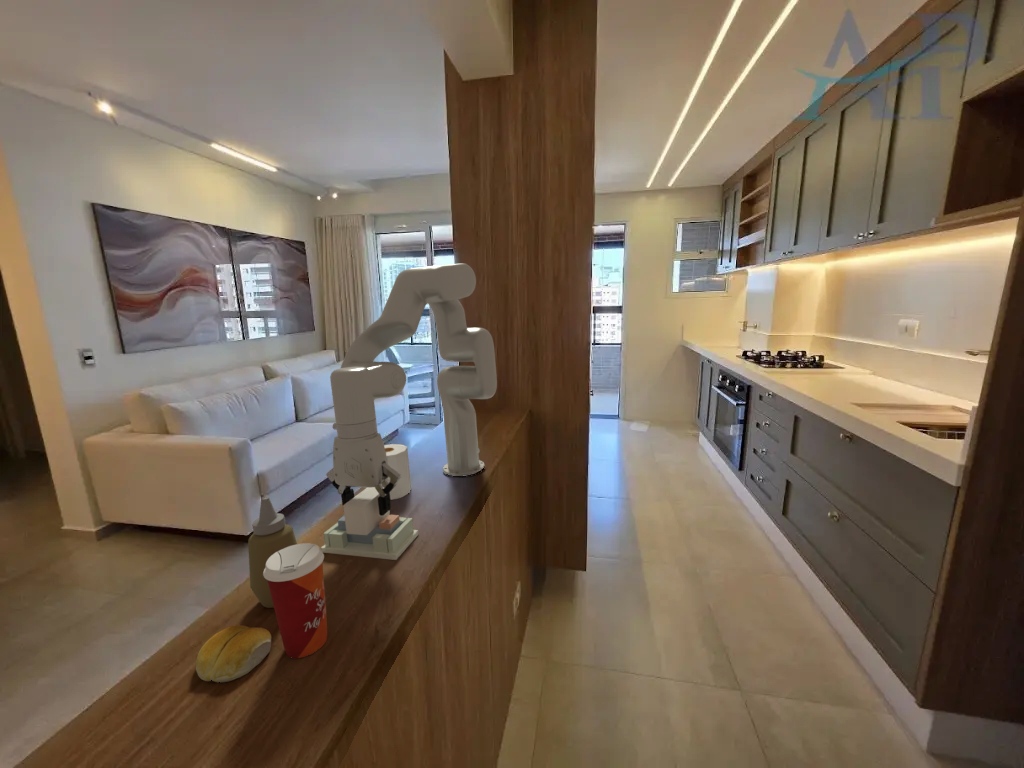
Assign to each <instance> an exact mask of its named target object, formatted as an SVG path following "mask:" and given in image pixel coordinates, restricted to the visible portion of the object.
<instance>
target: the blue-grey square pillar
mask: <svg viewBox="0 0 1024 768" xmlns="http://www.w3.org/2000/svg"><path fill="white" fill-rule="evenodd" d="M399 517H400V515H399V514H389V515H387V516H386V517H385V518H384V519H383V520H382V521H381V522H380V523H379V524H378V525H377V526H376V527H375V528H374V529H373V530H372V531H371V532H370V533H369V534H368V535H357V534H347V541H348V542H353V543H364V544H373V537H374V536H375V535H376V534H386V535H390V536H391V535H392V534H393V533H394V532H395V531H396V530H397V529H398V528H399V527H400V526H401V523H400V519H399ZM337 522H338V527H339V530H340V531H346V525H345V517H344V515H342V516H341V517H340V518H339V519H338V520H337ZM346 533H347V532H346Z"/></svg>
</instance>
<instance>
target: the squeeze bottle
mask: <svg viewBox="0 0 1024 768" xmlns="http://www.w3.org/2000/svg"><path fill="white" fill-rule="evenodd" d="M252 522H253V523H252V524H251V525H252V530H253V533H252V534H251V535H250V536H249V538H248V541H247V543H248V545H247V546H248V547H247V548H248V566H249V567H248V569H249V585H250V589H251V591H252V592H253V595H255V597H256V598H257V599H258V601H259V602H260V604H261V605H262V607H264V608H267V609H272V608H273V609H274V605H273V601H272V597H271V593H270V589H269V585H268V581H267V579H265V578H264V576H263V572H264V569H265V567H266V562H267V560H268V559H269V557H270V556H272V555H273V554H274V553H276V552H277V551H280V550H282V549H284V548H286V547H289V546H292V545H296V544H298V542H297V538H296V535H295V532H294V529H293V527H292V526H291V525H289V524H286V517H285V515H284V514H283V513H278V512H276V510H275V508H274V505H273V504H272V501H271V499H270V497H264V498H261V499H260V507H259V517H257V519H255V520H254V521H252Z"/></svg>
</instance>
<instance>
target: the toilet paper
mask: <svg viewBox="0 0 1024 768" xmlns="http://www.w3.org/2000/svg"><path fill="white" fill-rule="evenodd" d="M384 447H385V451H386V456H387V461H388V466H390V467H391V468H392V469H394V470H395V471H396V472H398V473H399V474H400V475H401V478H400V479H399V481H398V482H397V484H396V486H395V487H394V488H393V489H392V491H391V492H390V500H391V501H392V500H397V499H401V498H403V497H405V496H407V495H408V493H409V494H410V492H411V491H410V490H412V479H411V470H410V461H409V451H408V446H406V445H404V444H398V443H396V444H395V443H391V444H384ZM386 480H387V481H388V483H389V482H390V477H388V478H387V479H386ZM380 484H381V483H380ZM381 486H382V484H381ZM382 487H383V486H382Z"/></svg>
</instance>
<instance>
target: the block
mask: <svg viewBox="0 0 1024 768" xmlns="http://www.w3.org/2000/svg"><path fill="white" fill-rule="evenodd" d="M383 489H384V487H383ZM379 496H380V495H379V493H378V492H377V490H376V489H375V487H372V488H368V487H365V488H364V489H363V490H362V491H360V492H359V493H358V494H357V495H354V498H352V499H351V500H350V501H348V502H347V503H346V504H344V505H342V510H344V511H343V516H344V517H345V525H346V532H347V534H357V535H368V534H369V533H370V532H371V531H372V530H373V529H374V528H375V527H376V526H377V525H378V524H379V523H380V522H381V521H382V520H383V519H384V518H385V517H386V516H387V515H391V514H390V513H391V512H390V510H391V509H390V510H389V511H388V512H387V513H386V514H384V515H383V516H381V515H380V514H379V506H378V497H379Z"/></svg>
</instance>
